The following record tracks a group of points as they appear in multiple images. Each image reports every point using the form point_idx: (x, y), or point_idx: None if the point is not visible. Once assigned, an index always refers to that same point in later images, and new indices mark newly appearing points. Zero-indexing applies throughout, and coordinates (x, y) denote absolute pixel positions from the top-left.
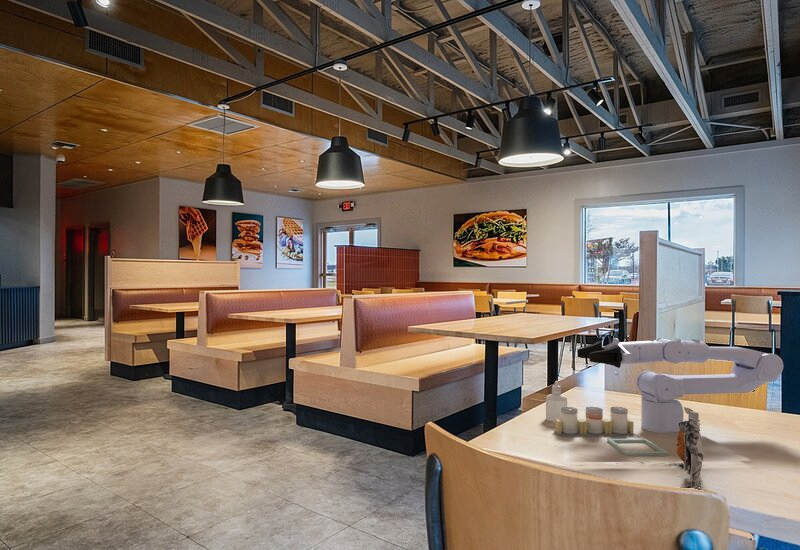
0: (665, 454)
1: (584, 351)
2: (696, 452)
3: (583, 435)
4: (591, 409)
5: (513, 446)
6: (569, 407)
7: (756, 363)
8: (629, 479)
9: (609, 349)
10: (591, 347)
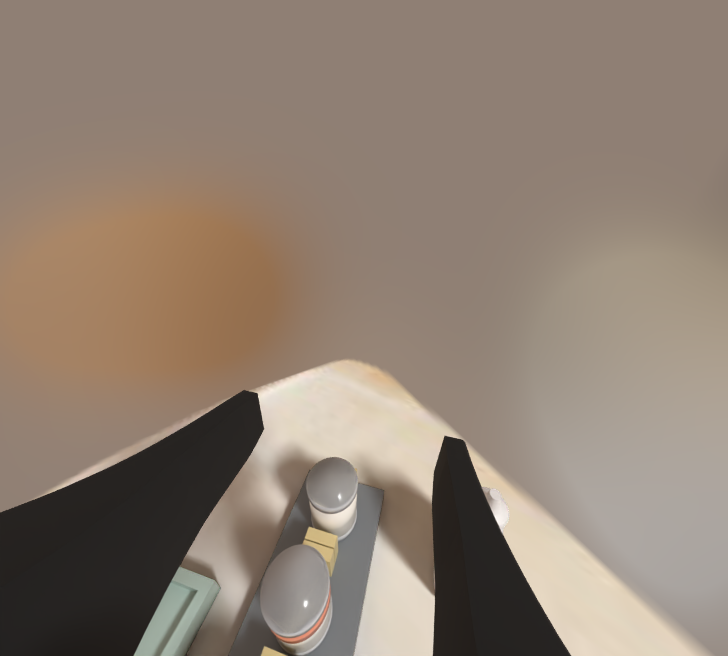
0: None
1: (443, 496)
2: None
3: (294, 541)
4: (292, 562)
5: (327, 388)
6: (346, 493)
7: None
8: (88, 474)
9: (76, 486)
10: (463, 571)
